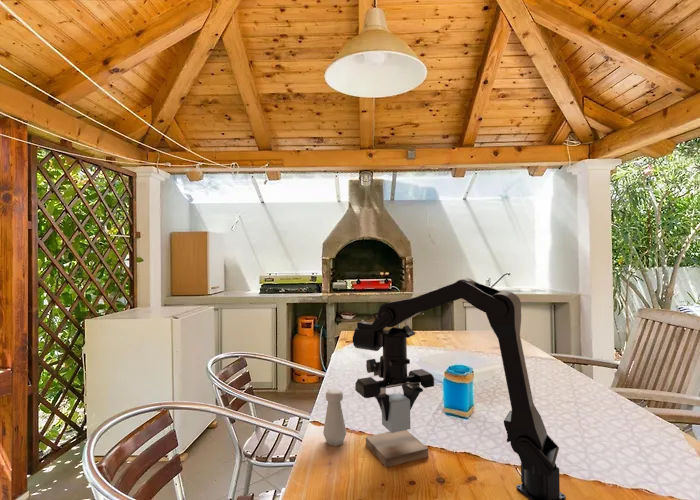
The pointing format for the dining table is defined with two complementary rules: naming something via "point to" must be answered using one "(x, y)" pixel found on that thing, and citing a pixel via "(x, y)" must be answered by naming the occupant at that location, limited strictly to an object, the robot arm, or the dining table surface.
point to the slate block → (398, 413)
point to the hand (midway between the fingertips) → (395, 418)
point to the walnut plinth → (396, 447)
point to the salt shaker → (334, 418)
